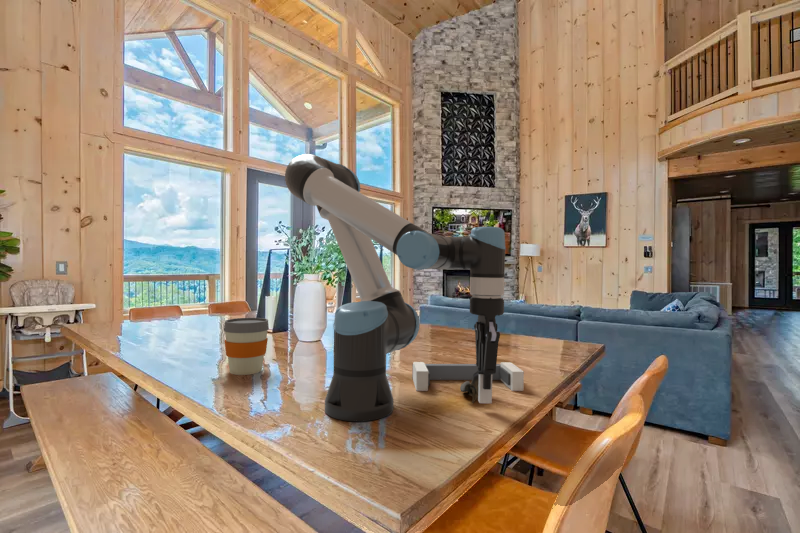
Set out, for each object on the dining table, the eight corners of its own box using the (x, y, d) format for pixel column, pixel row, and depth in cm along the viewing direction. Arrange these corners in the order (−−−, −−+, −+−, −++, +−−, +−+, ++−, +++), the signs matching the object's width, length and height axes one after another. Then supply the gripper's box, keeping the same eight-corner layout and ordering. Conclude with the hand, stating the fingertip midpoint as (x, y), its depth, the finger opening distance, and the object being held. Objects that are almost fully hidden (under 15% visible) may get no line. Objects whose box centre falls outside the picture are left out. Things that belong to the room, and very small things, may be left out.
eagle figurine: (497, 399, 94) (492, 381, 102) (481, 375, 93) (477, 359, 102) (469, 414, 95) (466, 395, 104) (453, 390, 94) (451, 373, 103)
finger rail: (416, 390, 103) (416, 371, 103) (412, 377, 115) (412, 360, 115) (523, 390, 104) (523, 371, 104) (508, 377, 116) (508, 360, 116)
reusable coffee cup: (237, 364, 126) (238, 317, 126) (275, 366, 124) (276, 318, 124) (213, 375, 114) (214, 322, 114) (255, 377, 112) (256, 324, 112)
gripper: (513, 299, 83) (510, 412, 83) (495, 294, 96) (493, 392, 96) (477, 298, 83) (475, 412, 83) (464, 294, 96) (462, 392, 96)
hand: (484, 402), depth 89 cm, fingers closed
